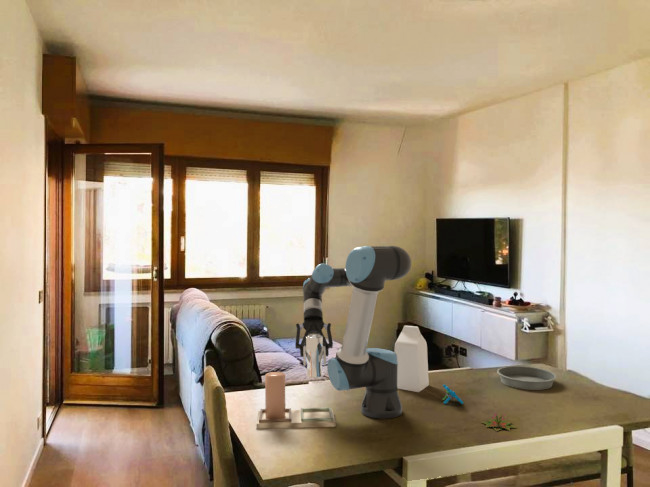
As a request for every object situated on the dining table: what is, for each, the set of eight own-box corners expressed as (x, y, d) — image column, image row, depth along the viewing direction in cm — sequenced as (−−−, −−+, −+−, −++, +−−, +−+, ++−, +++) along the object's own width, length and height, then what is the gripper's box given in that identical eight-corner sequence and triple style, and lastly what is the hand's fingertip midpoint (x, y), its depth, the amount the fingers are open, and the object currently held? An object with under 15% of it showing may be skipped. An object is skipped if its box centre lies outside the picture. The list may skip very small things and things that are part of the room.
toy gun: (467, 403, 205) (448, 384, 206) (457, 415, 205) (438, 396, 205) (460, 398, 216) (441, 380, 217) (449, 409, 216) (431, 391, 216)
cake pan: (494, 387, 232) (494, 377, 232) (499, 373, 255) (499, 363, 255) (557, 394, 223) (557, 383, 223) (556, 378, 246) (556, 369, 245)
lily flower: (473, 423, 191) (473, 410, 191) (501, 418, 195) (501, 406, 195) (495, 435, 180) (495, 421, 180) (524, 430, 184) (524, 417, 184)
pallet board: (332, 413, 199) (332, 406, 199) (335, 426, 186) (335, 419, 186) (258, 415, 198) (258, 408, 197) (256, 428, 185) (256, 420, 184)
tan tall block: (288, 415, 193) (288, 373, 193) (278, 421, 187) (278, 378, 186) (272, 412, 196) (272, 371, 196) (261, 418, 190) (261, 375, 189)
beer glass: (317, 379, 198) (316, 338, 197) (301, 376, 202) (301, 336, 201) (327, 374, 204) (327, 335, 203) (311, 372, 208) (311, 333, 207)
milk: (392, 387, 232) (392, 327, 231) (403, 381, 241) (403, 323, 240) (418, 392, 225) (419, 329, 224) (428, 385, 235) (429, 325, 234)
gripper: (337, 317, 218) (340, 368, 202) (288, 318, 217) (288, 369, 201) (338, 306, 213) (342, 357, 197) (288, 307, 212) (287, 358, 196)
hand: (314, 363), depth 199 cm, fingers closed on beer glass, 7 cm apart
